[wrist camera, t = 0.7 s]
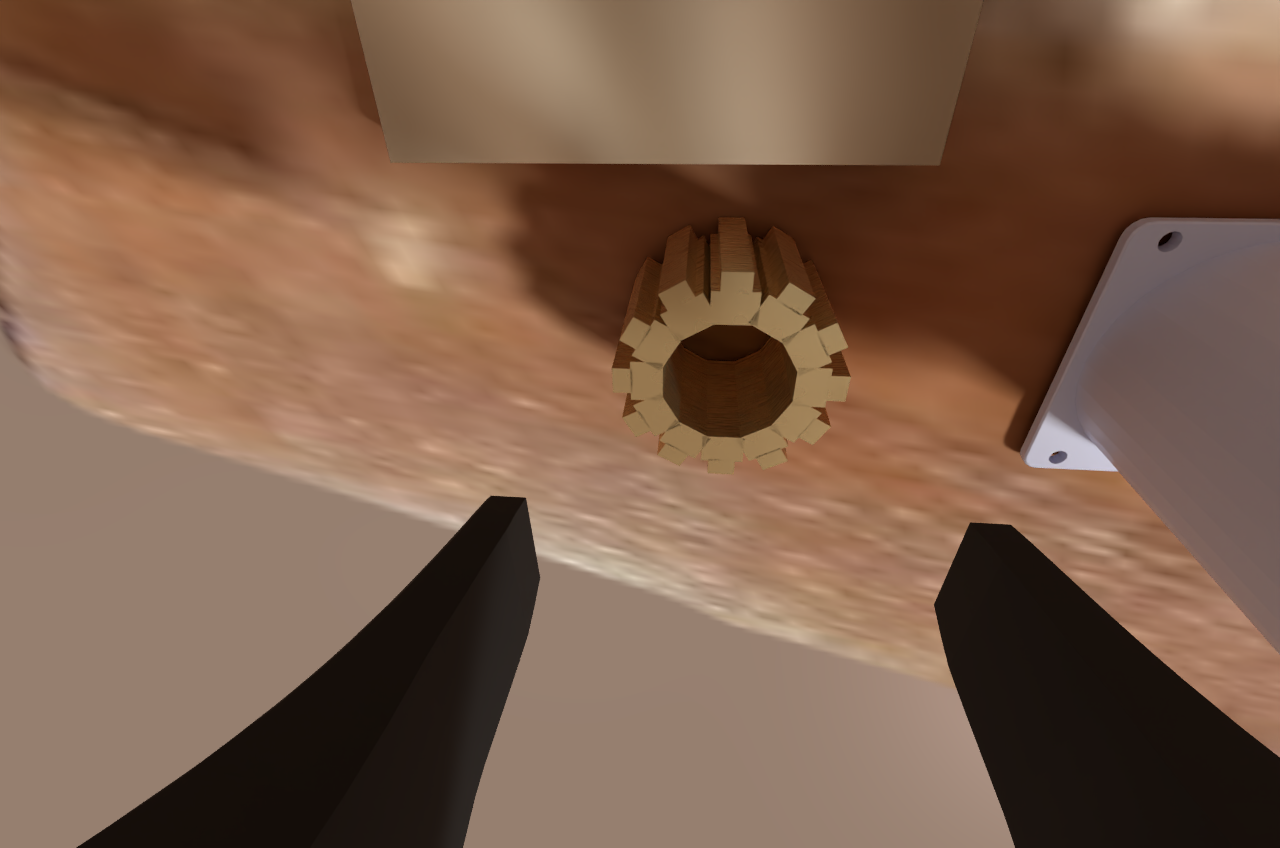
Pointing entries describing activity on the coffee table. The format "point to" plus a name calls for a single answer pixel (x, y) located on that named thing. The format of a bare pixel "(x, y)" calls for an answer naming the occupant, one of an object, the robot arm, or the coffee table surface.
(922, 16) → the gear board
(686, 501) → the coffee table surface
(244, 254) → the coffee table surface
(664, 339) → the brass gear
